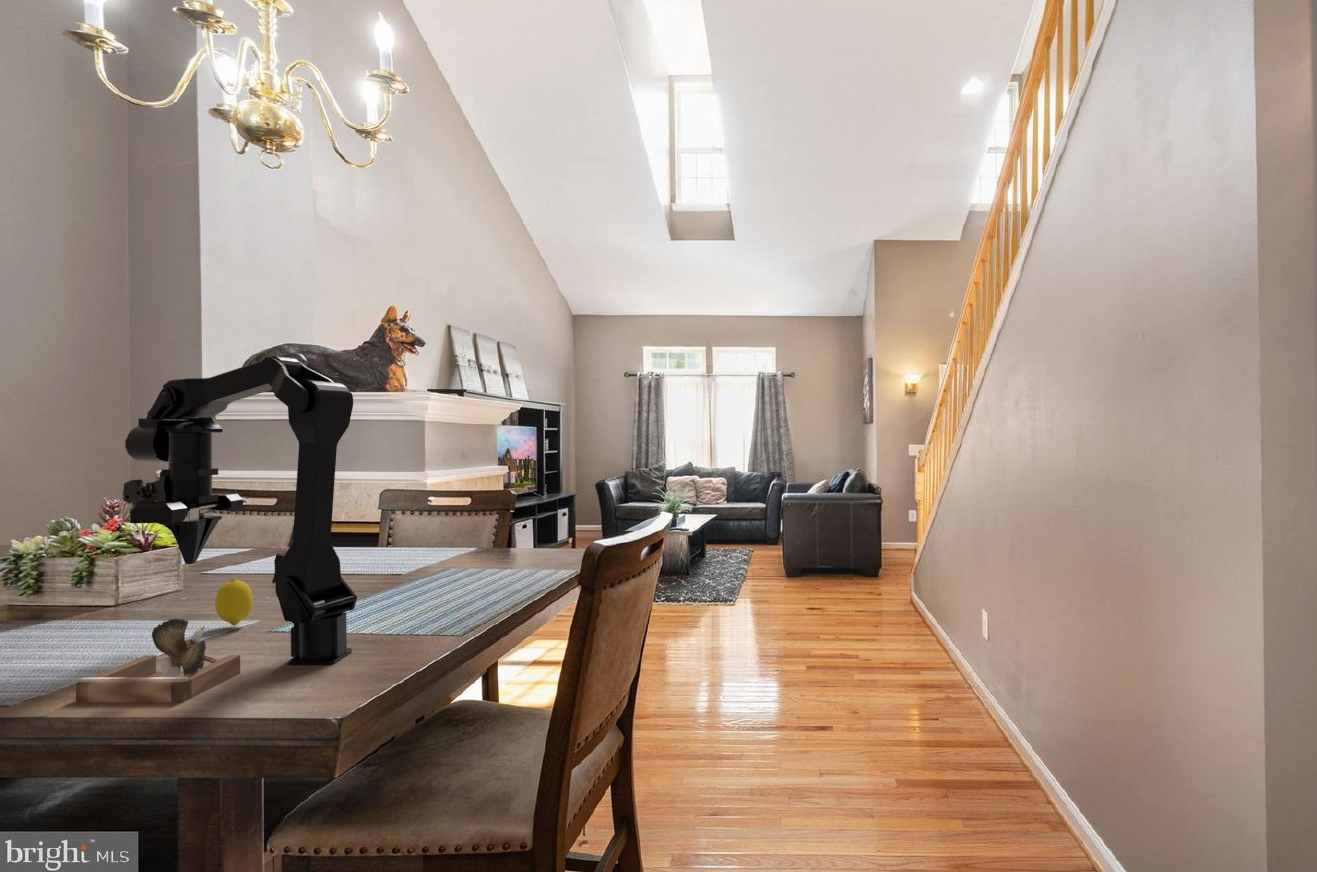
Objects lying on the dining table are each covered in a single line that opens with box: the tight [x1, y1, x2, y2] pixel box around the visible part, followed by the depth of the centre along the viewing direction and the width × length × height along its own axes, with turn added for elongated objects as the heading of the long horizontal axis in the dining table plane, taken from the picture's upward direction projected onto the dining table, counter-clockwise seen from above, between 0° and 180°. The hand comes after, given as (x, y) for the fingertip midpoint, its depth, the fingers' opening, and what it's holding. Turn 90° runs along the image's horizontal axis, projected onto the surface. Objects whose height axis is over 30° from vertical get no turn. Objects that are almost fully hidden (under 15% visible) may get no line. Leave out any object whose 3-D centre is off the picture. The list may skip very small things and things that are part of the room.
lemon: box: [214, 577, 254, 626], centre depth 126 cm, size 6×6×8 cm
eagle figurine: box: [151, 617, 218, 677], centre depth 96 cm, size 8×7×9 cm
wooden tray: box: [75, 654, 241, 703], centre depth 94 cm, size 13×12×3 cm
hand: (190, 563), depth 115 cm, fingers closed
